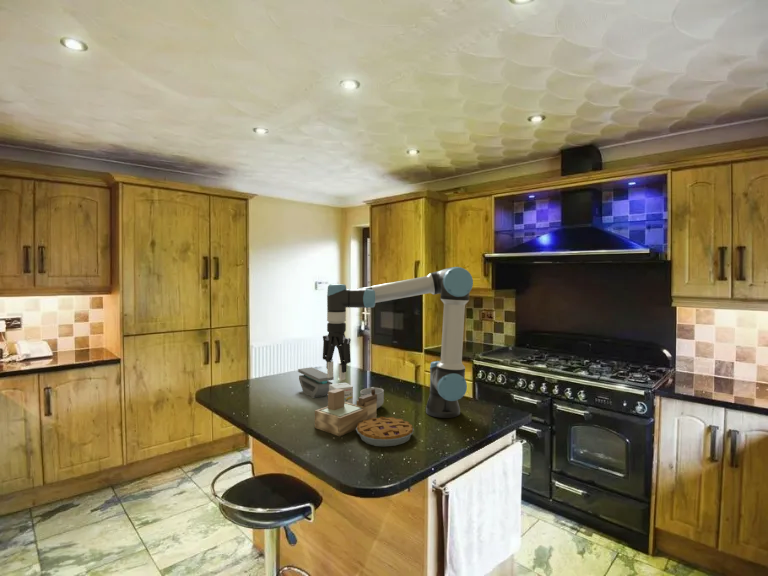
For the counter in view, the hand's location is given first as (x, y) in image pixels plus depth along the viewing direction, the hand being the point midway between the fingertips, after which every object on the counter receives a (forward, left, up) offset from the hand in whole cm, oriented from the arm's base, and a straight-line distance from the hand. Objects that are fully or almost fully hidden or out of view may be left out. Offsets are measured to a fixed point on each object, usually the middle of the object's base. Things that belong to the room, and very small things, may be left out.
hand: (336, 378), depth 172 cm
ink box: (+11, -14, -19) cm, 26 cm away
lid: (-3, 0, -13) cm, 13 cm away
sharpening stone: (+40, -25, -19) cm, 51 cm away
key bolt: (-7, -12, -12) cm, 18 cm away
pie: (-23, -3, -19) cm, 30 cm away
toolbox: (-3, -4, -19) cm, 19 cm away
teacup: (+4, -28, -19) cm, 34 cm away
